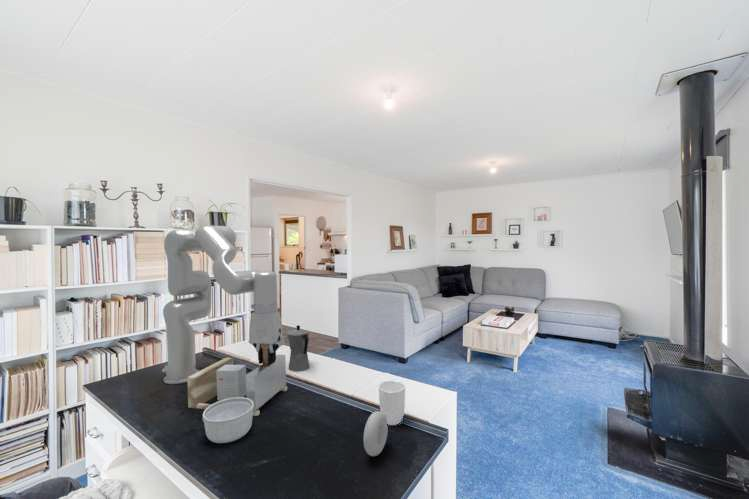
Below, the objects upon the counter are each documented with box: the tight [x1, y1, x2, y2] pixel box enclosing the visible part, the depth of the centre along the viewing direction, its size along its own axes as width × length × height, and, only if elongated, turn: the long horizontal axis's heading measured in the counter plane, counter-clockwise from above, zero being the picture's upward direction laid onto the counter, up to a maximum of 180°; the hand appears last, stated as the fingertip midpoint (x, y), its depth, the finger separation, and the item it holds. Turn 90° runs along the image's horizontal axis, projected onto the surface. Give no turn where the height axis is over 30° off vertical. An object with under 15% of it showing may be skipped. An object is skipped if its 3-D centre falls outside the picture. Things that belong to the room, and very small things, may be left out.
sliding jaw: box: [245, 344, 287, 411], centre depth 109 cm, size 4×19×20 cm, turn 166°
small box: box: [216, 364, 247, 402], centre depth 113 cm, size 8×6×10 cm
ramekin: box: [202, 396, 254, 444], centre depth 92 cm, size 13×13×7 cm
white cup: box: [378, 380, 406, 426], centre depth 97 cm, size 8×8×10 cm
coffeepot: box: [287, 325, 310, 372], centre depth 138 cm, size 15×9×18 cm, turn 37°
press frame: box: [187, 357, 288, 417], centre depth 112 cm, size 26×19×10 cm
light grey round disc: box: [362, 410, 389, 457], centre depth 82 cm, size 10×4×10 cm, turn 155°
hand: (267, 362), depth 109 cm, fingers closed on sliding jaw, 3 cm apart
